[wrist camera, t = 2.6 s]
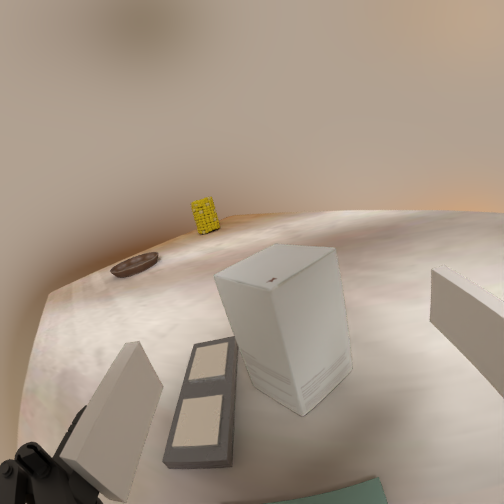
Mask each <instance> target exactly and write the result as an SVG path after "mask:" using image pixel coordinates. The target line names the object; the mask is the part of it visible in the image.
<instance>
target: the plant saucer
mask: <svg viewBox="0 0 504 504" xmlns="http://www.w3.org/2000/svg"><path fill="white" fill-rule="evenodd" d="M157 258H158V252H151V253H146V254H142V255H139V256H136V257H133V258H131V259H128V260H126V261H124V262H121V263H119V264H118V265H116V266H114V267H113V268H112V269H111V270H110V272H111V273H112V274H113V275H115V276H117V277H120V278H124V277H129V276H132V275H135V274H138V273H140V272H142V271H145V270H147V269H148V268H150V267H152V266H153V265H154V264H155V263H156V261H157Z"/></svg>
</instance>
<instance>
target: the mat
mask: <svg viewBox="0 0 504 504" xmlns="http://www.w3.org/2000/svg"><path fill="white" fill-rule="evenodd" d="M265 504H388V503H387V500H386V497H385V494H384V491H383V488H382V485H381V482H380V479H379V477H377V478H374V479H371V480H369V481H366V482H363V483H359V484H356V485H353V486H350V487H346V488H343V489H339V490H335V491H331V492H327V493H323V494H319V495H314V496H309V497H304V498H299V499H293V500H287V501H281V502H273V503H265Z"/></svg>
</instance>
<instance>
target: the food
mask: <svg viewBox="0 0 504 504" xmlns="http://www.w3.org/2000/svg"><path fill="white" fill-rule="evenodd" d="M191 207H192V210H193V211H192V212H193V215H194V220H195V223H196V225H197V230H198V233H199V234H205V233H208V232H209V231H212V229H213V230H214V229H219V228H220V226H219V220H218V218H217V213H216V210H215V207H214V202H213V199H212V197H206V198H204V199H201V200H199V201H198V200H196V201H194V202H192V203H191ZM198 211H199V212H198ZM203 215H204V216H203Z"/></svg>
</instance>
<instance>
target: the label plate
mask: <svg viewBox="0 0 504 504" xmlns="http://www.w3.org/2000/svg"><path fill="white" fill-rule="evenodd" d="M237 354H238V344H237V341H236V339H235V336H233V337H228V338H223V339H218V340H213V341H208V342H203V343H198V344H194V346H193V350H192V353H191V357H190V360H189V364H188V367H187V371H186V374H185V378H184V381H183V385H182V389H181V392H180V396H179V400H178V403H177V407H176V411H175V414H174V418H173V422H172V426H171V430H170V433H169V437H168V441H167V445H166V449H165V453H164V457H163V461H162V462H163V463H164V464H165V465H166V466H167V467H168V468H173V469H197V468H220V467H232V451H233V430H234V410H235V390H236V372H237Z"/></svg>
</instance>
